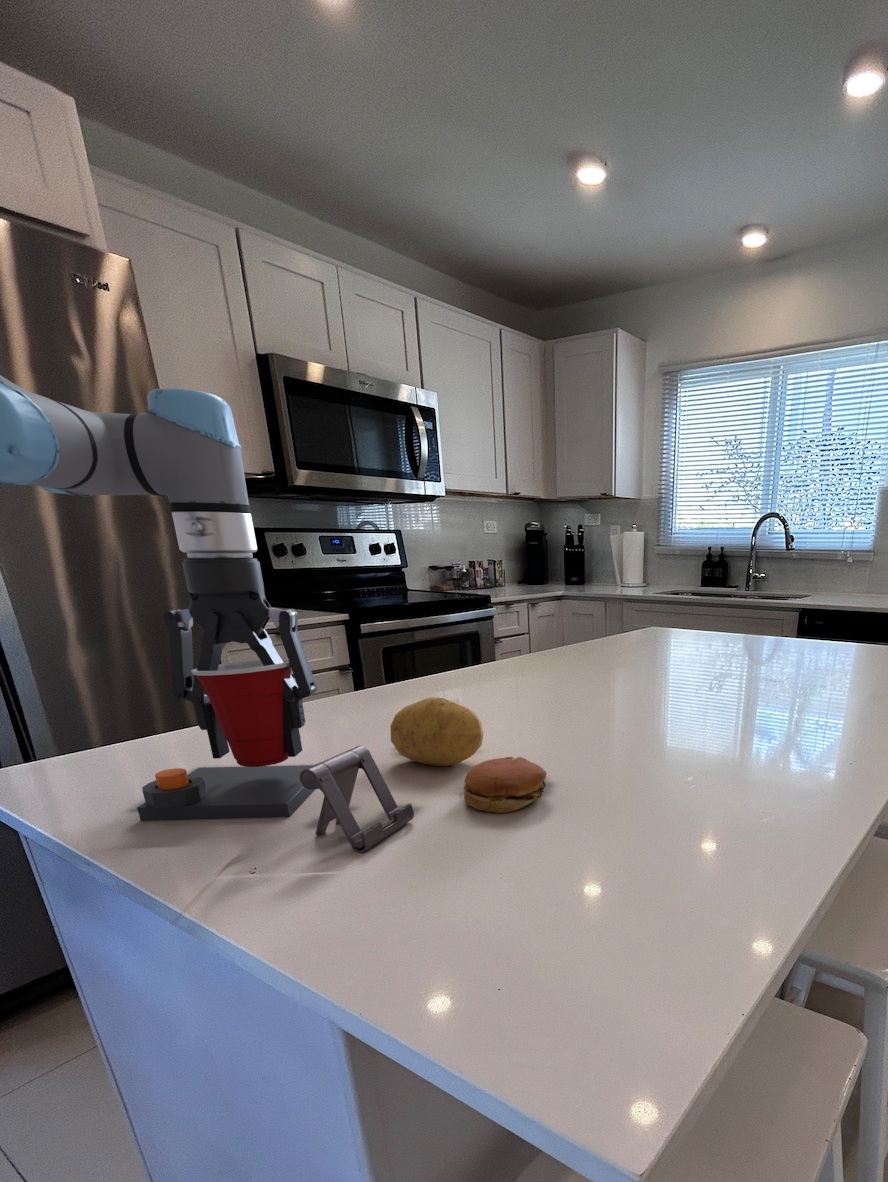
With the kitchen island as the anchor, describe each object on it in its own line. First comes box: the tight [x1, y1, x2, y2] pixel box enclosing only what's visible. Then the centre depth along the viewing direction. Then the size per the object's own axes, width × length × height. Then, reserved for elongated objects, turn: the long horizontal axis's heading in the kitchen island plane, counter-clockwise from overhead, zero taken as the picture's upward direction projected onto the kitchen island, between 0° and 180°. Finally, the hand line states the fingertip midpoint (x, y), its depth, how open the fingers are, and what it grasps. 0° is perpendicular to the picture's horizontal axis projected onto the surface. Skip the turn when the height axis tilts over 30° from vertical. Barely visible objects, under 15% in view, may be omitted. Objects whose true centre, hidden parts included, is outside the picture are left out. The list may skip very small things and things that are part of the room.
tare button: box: [154, 767, 189, 790], centre depth 74 cm, size 3×3×2 cm
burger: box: [463, 756, 548, 814], centre depth 79 cm, size 10×9×5 cm
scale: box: [136, 764, 316, 822], centre depth 79 cm, size 16×14×4 cm
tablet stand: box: [300, 745, 415, 854], centre depth 69 cm, size 9×8×8 cm
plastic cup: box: [191, 658, 292, 767], centre depth 78 cm, size 11×11×12 cm
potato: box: [390, 696, 484, 767], centre depth 91 cm, size 10×13×9 cm
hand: (258, 754), depth 80 cm, fingers closed on plastic cup, 8 cm apart
